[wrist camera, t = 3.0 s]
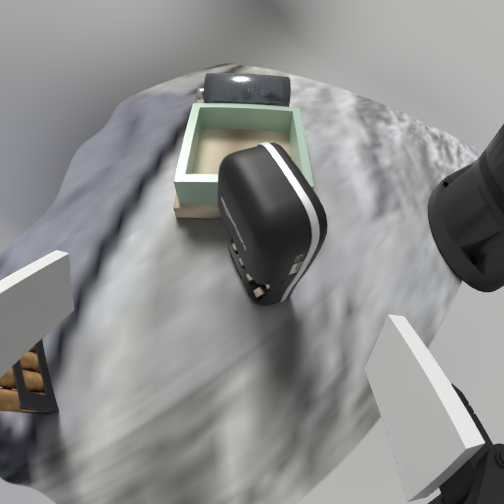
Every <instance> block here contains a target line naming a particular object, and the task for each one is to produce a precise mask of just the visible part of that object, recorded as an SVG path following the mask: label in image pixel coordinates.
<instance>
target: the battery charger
mask: <svg viewBox="0 0 504 504" xmlns="http://www.w3.org/2000/svg"><path fill="white" fill-rule="evenodd" d="M218 209H219V212H220V215H221V217H222V219H223V221H224V223H225V225H226V228H227V229H228V231H229V233H230V235H231V237H232V238H231V240H230V243H229V251H230V254H231V256H232V259H233V261H234V263H235V265H236V268H237V270H238V272H239V274H240V276H241V279H242V281H243V283H244V285H245V287H246V290H247V292H248V294H249V296H250V298H251V299H252V301H253V302H254V303H255V304H257V305H261V306H266V305H271V304H274V303H277V302H279V301H280V302H282V301H284V300H286V298H288V297H290V296H291V294H292V292H293V290H294V288H295V287H296V285H297V283H298V282H299V280H300V279H301V278H302V277H303V275H304V274H305V273H306V271H307V270H308V268H309V267H310V265H311V264H312V262H313V261H314V259H315V257H316V256H317V254H318V252H319V250H320V248H321V246H322V244H323V242H324V240H325V237H326V234H327V218H326V214H325V211H324V208H323V206H322V204H321V202H320V200H319V198H318V197H317V195H316V194H315V192H314V190H313V189H312V187H311V186H310V184H309V183H308V181H307V180H306V178H305V177H304V175H303V174H302V172H301V171H300V170H299V168H298V167H297V165H296V164H295V163H294V161H293V160H292V159H291V157H290V156H289V155H288V153H287V152H286V151H285V150H284V148H283V147H282V146H281V145H279V144H277V143H267V142H264V143H260V144H258V145H257V146H256V147H252V148H248V149H244V150H240V151H236V152H233V153H231V154H228V155H227V156H226V157H225V158H223V160H222V162H221V164H220V166H219V172H218Z"/></svg>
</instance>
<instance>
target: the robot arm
mask: <svg viewBox="0 0 504 504" xmlns="http://www.w3.org/2000/svg"><path fill="white" fill-rule="evenodd" d="M428 216H429V222H430V226H431V230H432V233H433V236H434V238H435V241H436V243H437V245H438V247H439V249H440V251H441V253H442V255H443V256H444V258H445V259H446V261H447V263H448V264H449V265H450V267H451V268H452V269H453V271H454V272H455V273H456V274H457V275H458V276H459V277H460V278H461V279H462V280H463V281H464V282H465V283H467V284H468V285H469V286H471V287H472V288H474V289H476V290H478V291H482V292H493V291H495V290H497V289H499V288H501V287H502V286H504V125H503V126H502V127H501V129H500V130H499V132H498V133H497V134H496V136H495V137H494V138H493V140H492V141H491V143H490V144H489V145H488V146H487V148H486V149H485V151H484V152H483V153H482V154H481V156H480V157H479V158H478V159H477V160H476V161H474V162H472V163H471V164H469V165H467V166H465V167H464V168H462V169H460V170H458V171H456V172H455V173H453V174H451V175H449V176H447V177H446V178H444V179H443V180H442V181H441V182H440V183H439V185H438V186H437V187H436V188H435V190H434V191H433V192H432V194H431V196H430V198H429V203H428ZM72 311H74V303H73V295H72V286H71V275H70V262H69V253H65V252H61V251H58V250H56V251H54V252H52V253H50V254H48V255H46V256H44V257H43V258H41V259H39V260H37V261H35V262H33V263H31V264H29V265H27V266H26V267H24V268H22V269H20V270H18V271H16V272H15V273H13V274H11V275H9V276H8V277H6V278H4V279H2V280H1V281H0V378H1V377H2V376H3V375H4V374H5V373H6V372H7V371H8V370H9V369H10V368H11V367H12V366H13V365H14V364H15V363H16V362H17V361H18V360H19V359H20V358H21V357H22V356H24V355H25V354H26V353H27V352H28V351H29V350H30V349H31V348H32V347H33V346H34V345H35V344H36V343H37V342H39V341H40V340H41V339H42V338H43V337H44V336H45V335H46V334H47V333H48V332H50V331H51V330H52V329H53V328H54V327H55V326H56V325H57V324H59V323H60V322H61V321H62V320H63V319H64V318H65V317H67V316H68V315H69V314H70V313H71V312H72ZM364 370H365V372H366V375H367V378H368V380H369V383H370V386H371V389H372V391H373V394H374V397H375V400H376V403H377V406H378V408H379V411H380V414H381V417H382V420H383V423H384V426H385V429H386V432H387V435H388V438H389V442H390V445H391V448H392V451H393V455H394V458H395V461H396V464H397V468H398V471H399V475H400V478H401V482H402V486H403V489H404V493H405V497H406V500H407V502H409V501H413V500H417V499H421V498H425V497H427V496H429V495H430V494H431V493H433V492H434V491H435V490H436V489H437V488H440V491H441V494H440V495H439V496H437V497H436V498H435V499H433V500H432V501H431V502H429V503H428V504H504V444H495V445H493V444H492V442H491V440H490V438H489V436H488V435H487V433H486V431H485V430H484V428H483V426H482V424H481V422H480V421H479V419H478V417H477V416H476V414H474V411H473V409H472V408H471V406H470V405H468V404H469V403H468V401H467V399H466V398H465V396H464V395H463V393H462V392H461V391H460V390H459V389H457V388H456V387H455V386H454V385H453V384H450V382H449V381H448V379H447V378H446V376H445V374H444V373H443V372H442V370H441V368H440V367H439V365H438V364H437V362H436V361H435V359H434V358H433V357H432V355H431V354H430V352H429V351H428V349H427V348H426V346H425V345H424V343H423V342H422V341H421V339H420V338H419V336H418V335H417V334H416V332H415V331H414V329H413V328H412V327H411V325H410V324H409V323H408V321H407V320H406V319H405V317H404V316H397V315H389V314H388V316H387V318H386V321H385V323H384V326H383V328H382V331H381V333H380V335H379V338H378V340H377V342H376V345H375V347H374V349H373V351H372V353H371V356H370V358H369V360H368V362H367V364H366V366H365V368H364Z"/></svg>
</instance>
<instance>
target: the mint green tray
mask: <svg viewBox="0 0 504 504" xmlns="http://www.w3.org/2000/svg"><path fill="white" fill-rule="evenodd" d="M290 91H291V87H290V78H289V77H283V76H272V75H258V74H235V73H207V74H206V77H205V83H204V88H198V89H197V100H198V101H197V103H193V106H192V110H191V113H190V117H189V121H188V125H187V128H186V132H185V136H184V140H183V144H182V148H181V153H180V157H179V161H178V166H177V170H176V175H175V179H174V184H175V188H176V197H175V202H174V212H175V215H176V217H179V218H222V217H221V215H220V212H219V209H218V172H219V166H220V164H221V162H222V160H223V158H225V157H226V156H227V155H228V154H231V153H233V152H236V151H240V150H244V149H248V148H252V147H256V146H257V145H258V144H260V143H264V142H267V143H277V144H279V145H281V146H282V147H283V148H284V150H285V151H286V152H287V153H288V155H289V156H290V157H291V159H292V160H293V161H294V163H295V164H296V165H297V167H298V168H299V170H300V171H301V172H302V174H303V175H304V177H305V178H306V180H307V181H308V183H309V184H310V186H311V187H312V189H313V188H314V184H313V178H312V172H311V166H310V160H309V155H308V149H307V144H306V138H305V133H304V128H303V123H302V118H301V114H300V109H299V108H295V107H294V103H290Z"/></svg>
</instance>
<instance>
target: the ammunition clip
mask: <svg viewBox="0 0 504 504" xmlns="http://www.w3.org/2000/svg"><path fill="white" fill-rule="evenodd" d="M22 369H23V370H22ZM0 387H2V388H0V411H14V412H23V413H34V414H49V413H54V412H58V411H59V409H58V406H57V402H56V399H55V395H54V392H53V388H52V384H51V380H50V376H49V372H48V367H47V363H46V358H45V353H44V348H43V342H42V339H41V340H40V341H39V342H37V343H36V344H35V345H34V346H33V347H32V348H31V349H30V350H29V351H28V352H27V353H26V354H25V355H24V356H22V357H21V358H20V359H19V360H18V361H17V362H16V363H15V364H14V365H13V366H12V367H11V368H10V369H9V370H8V371H7V372H6V373H5V374H4V375H3V376H2V377H1V378H0ZM12 389H17V390H12ZM30 391H31V392H30Z"/></svg>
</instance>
